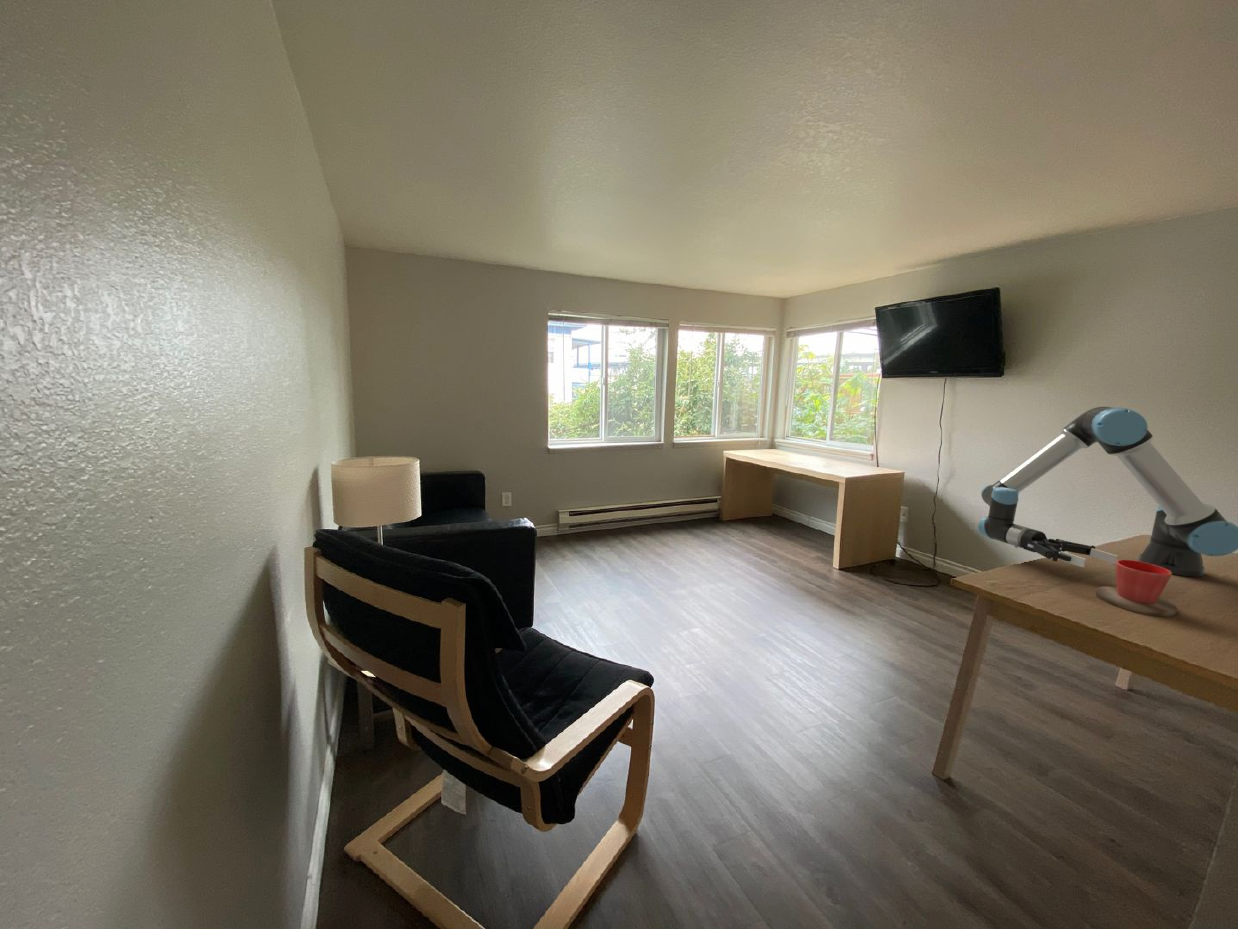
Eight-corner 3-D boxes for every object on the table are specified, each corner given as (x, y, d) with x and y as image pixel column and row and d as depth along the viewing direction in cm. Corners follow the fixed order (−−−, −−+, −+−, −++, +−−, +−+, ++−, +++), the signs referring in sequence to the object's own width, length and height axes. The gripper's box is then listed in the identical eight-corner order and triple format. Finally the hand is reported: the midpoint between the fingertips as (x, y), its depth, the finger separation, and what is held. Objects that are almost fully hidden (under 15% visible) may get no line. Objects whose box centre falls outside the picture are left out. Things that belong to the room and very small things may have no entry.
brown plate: (1139, 593, 146) (1140, 588, 145) (1194, 619, 130) (1195, 613, 130) (1081, 589, 148) (1082, 584, 147) (1128, 614, 132) (1129, 609, 132)
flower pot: (1169, 610, 131) (1177, 577, 130) (1113, 599, 138) (1120, 567, 136) (1158, 596, 140) (1165, 565, 138) (1106, 586, 146) (1112, 556, 144)
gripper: (1051, 546, 170) (1126, 569, 150) (997, 551, 164) (1068, 576, 144) (1055, 526, 169) (1131, 547, 149) (1001, 530, 163) (1073, 552, 142)
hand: (1100, 561), depth 146 cm, fingers open, 13 cm apart
